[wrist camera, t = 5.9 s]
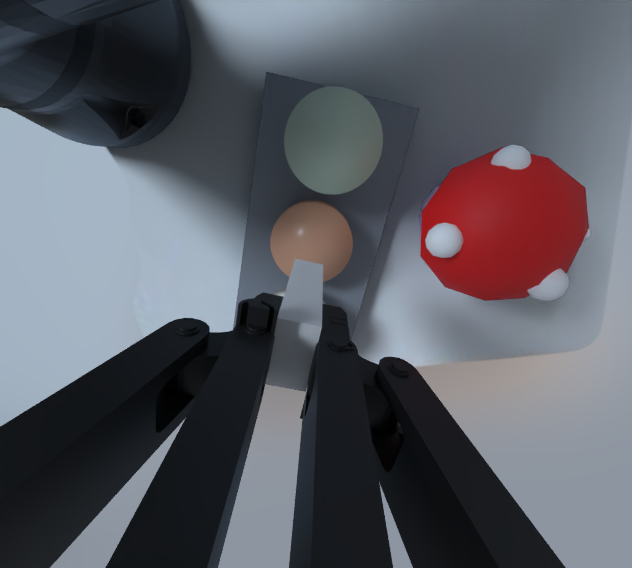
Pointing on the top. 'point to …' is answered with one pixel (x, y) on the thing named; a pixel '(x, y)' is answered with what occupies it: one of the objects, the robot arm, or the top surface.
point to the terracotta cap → (312, 237)
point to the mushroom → (505, 226)
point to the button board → (318, 197)
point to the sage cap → (333, 140)
